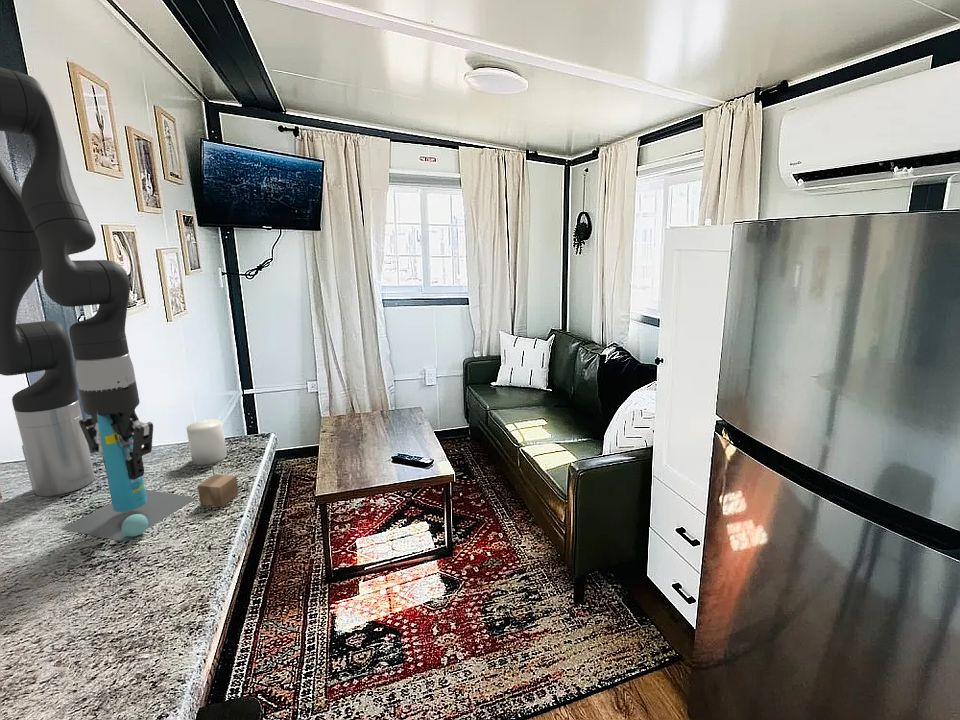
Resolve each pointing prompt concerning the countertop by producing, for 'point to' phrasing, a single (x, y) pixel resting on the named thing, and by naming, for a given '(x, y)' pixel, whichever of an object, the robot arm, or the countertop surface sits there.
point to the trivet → (111, 521)
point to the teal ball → (134, 525)
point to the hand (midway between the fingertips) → (125, 475)
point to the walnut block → (218, 490)
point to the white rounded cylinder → (207, 441)
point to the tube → (119, 471)
